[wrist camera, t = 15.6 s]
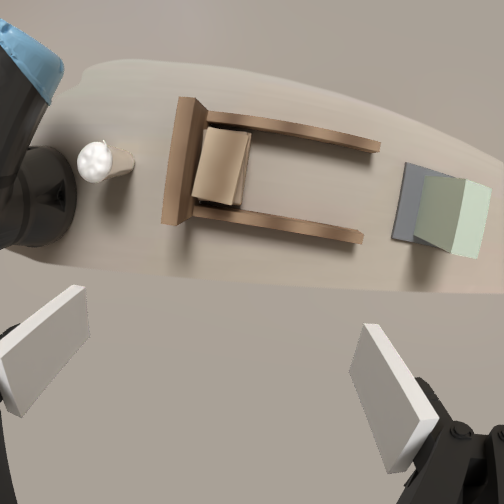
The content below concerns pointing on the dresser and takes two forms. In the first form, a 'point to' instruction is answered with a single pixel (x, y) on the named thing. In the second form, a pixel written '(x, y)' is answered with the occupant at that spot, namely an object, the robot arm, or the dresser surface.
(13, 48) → the robot arm
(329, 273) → the dresser surface
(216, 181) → the offcut stack
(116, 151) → the milkshake
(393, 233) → the rubber pad
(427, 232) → the block
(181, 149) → the rack
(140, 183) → the dresser surface
